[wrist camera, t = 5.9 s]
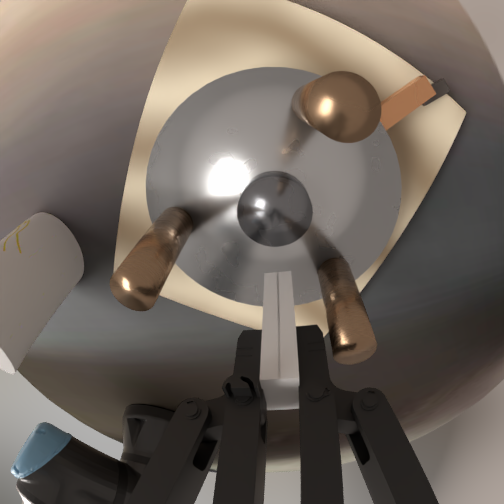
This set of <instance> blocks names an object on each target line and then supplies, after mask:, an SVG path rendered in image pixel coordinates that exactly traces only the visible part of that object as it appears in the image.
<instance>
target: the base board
mask: <svg viewBox="0 0 504 504" xmlns="http://www.w3.org/2000/svg"><path fill="white" fill-rule="evenodd" d="M260 67H287V68H293V69H299V70H305V71H308V72H311V73H314V74H318V75H321V76H324V75H326V74H328V73H331V72H335V71H349V72H353V73H356V74H358V75H360V76H362V77H363V78H365V79H366V80H367V81H369V82H370V83H371V85H372V86H373V87H374V88H375V90H376V91H377V93H378V96H379V98H380V102H382V101H383V100H385V99H386V98H388V97H389V96H390V95H392V94H393V93H395V92H396V91H397V90H399V89H400V88H402V87H403V86H405V85H406V84H408V83H409V82H411V81H412V80H413V79H415V78H416V77H418V76H422V75H423V74H422V73H421V72H419V71H418V70H417V69H415V68H414V67H413V66H411V65H410V64H408V63H407V62H406V61H404V60H403V59H401V58H400V57H398V56H397V55H395V54H394V53H392V52H391V51H389V50H388V49H386V48H385V47H383V46H381V45H380V44H378V43H377V42H375V41H373V40H371V39H370V38H368V37H366V36H365V35H363V34H361V33H359V32H357V31H355V30H354V29H352V28H350V27H348V26H346V25H344V24H342V23H340V22H338V21H336V20H334V19H331V18H329V17H327V16H325V15H323V14H320V13H318V12H316V11H313V10H311V9H308V8H306V7H303V6H301V5H298V4H295V3H293V2H290V1H287V0H188V1H187V3H186V5H185V6H184V8H183V10H182V13H181V15H180V17H179V19H178V21H177V23H176V25H175V27H174V29H173V32H172V34H171V36H170V39H169V41H168V43H167V46H166V48H165V50H164V53H163V55H162V58H161V61H160V63H159V66H158V68H157V71H156V74H155V77H154V79H153V82H152V85H151V88H150V91H149V94H148V97H147V100H146V104H145V107H144V110H143V113H142V117H141V120H140V124H139V127H138V131H137V135H136V139H135V143H134V147H133V151H132V155H131V159H130V164H129V168H128V173H127V178H126V183H125V188H124V194H123V200H122V206H121V212H120V218H119V226H118V233H117V241H116V250H115V260H114V272H115V271H116V270H117V268H118V267H119V266H120V264H121V263H122V262H123V260H124V259H125V258H126V257H127V255H128V254H129V253H130V251H131V250H132V249H133V248H134V246H135V245H136V244H137V242H138V241H139V240H140V239H141V237H142V236H143V235H144V234H145V233H146V231H147V230H148V229H149V228H150V226H151V225H152V222H151V219H150V216H149V212H148V206H147V201H146V174H147V166H148V162H149V158H150V154H151V150H152V148H153V146H154V143H155V141H156V138H157V136H158V134H159V132H160V131H161V129H162V127H163V126H164V124H165V122H166V121H167V119H168V118H169V117H170V116H171V114H172V113H173V112H174V111H175V110H176V108H177V107H178V106H179V105H180V104H181V103H182V102H184V101H185V100H186V99H187V98H188V97H189V96H190V95H191V94H193V93H194V92H196V91H197V90H199V89H200V88H202V87H203V86H205V85H206V84H208V83H210V82H212V81H214V80H216V79H218V78H220V77H223V76H225V75H228V74H231V73H235V72H238V71H241V70H246V69H252V68H260ZM426 78H427V77H426ZM427 79H428V78H427ZM428 81H429V82H430V84H431V86H432V87H433V89H434V91H435V93H436V95H434V96H433V97H431V98H430V99H429V100H427V101H426V102H425V103H423V104H422V105H420V106H419V107H418V108H416V109H415V110H414V111H412V112H411V113H409V114H408V115H407V116H405V117H404V118H403V119H401V120H400V121H399V122H397V123H396V124H394V125H393V126H392V127H390V128H389V129H388V130H386V132H387V134H388V135H389V137H390V139H391V141H392V144H393V147H394V149H395V152H396V154H397V158H398V163H399V167H400V173H401V184H402V190H401V204H400V209H399V214H398V219H397V222H396V225H395V227H394V230H393V233H392V235H391V237H390V239H389V241H388V243H387V245H386V247H385V248H384V250H383V251H382V253H381V254H380V256H379V257H378V258H377V259H376V261H375V262H374V263H373V264H372V265H371V266H370V268H369V269H368V270H367V271H365V272H364V273H363V274H362V275H361V276H360V277H359V278H358V279H356V280H355V281H356V284H357V287H358V290H359V292H361V291H362V289H363V288H364V287H365V285H366V284H367V283H368V281H369V280H370V279H371V277H372V276H373V275H374V273H375V272H376V271H377V269H378V268H379V266H380V265H381V264H382V262H383V261H384V259H385V258H386V256H387V255H388V253H389V252H390V251H391V249H392V248H393V246H394V245H395V243H396V242H397V240H398V239H399V237H400V236H401V234H402V232H403V231H404V229H405V228H406V226H407V225H408V223H409V221H410V220H411V218H412V217H413V215H414V213H415V212H416V210H417V208H418V207H419V205H420V203H421V202H422V200H423V198H424V197H425V195H426V193H427V191H428V190H429V188H430V186H431V184H432V182H433V181H434V179H435V177H436V175H437V173H438V171H439V169H440V168H441V166H442V164H443V162H444V160H445V158H446V156H447V154H448V152H449V150H450V148H451V146H452V144H453V141H454V139H455V137H456V135H457V133H458V131H459V128H460V126H461V124H462V122H463V119H464V117H465V115H466V111H465V110H464V109H462V108H461V107H460V106H459V105H458V104H457V103H456V102H455V101H454V100H453V99H452V98H451V97H450V96H448V95H447V93H448V92H450V90H449V88H448V86H447V84H446V82H445V80H444V79H440V80H438V81H436V82H434V83H433V82H432V81H431V80H430V79H428ZM114 272H113V274H114ZM159 295H161V296H163V297H166V298H168V299H171V300H173V301H176V302H179V303H181V304H184V305H187V306H189V307H192V308H195V309H198V310H201V311H203V312H206V313H209V314H212V315H215V316H218V317H221V318H223V319H226V320H229V321H232V322H235V323H239V324H242V325H245V326H248V327H251V328H254V329H257V330H262V319H263V307H262V306H254V305H248V304H244V303H240V302H236V301H233V300H230V299H227V298H224V297H222V296H220V295H218V294H215V293H213V292H211V291H209V290H208V289H206V288H204V287H203V286H201V285H199V284H198V283H197V282H195V281H194V280H193V279H191V278H190V277H189V276H188V275H186V274H185V273H184V272H183V271H182V270H181V269H180V268H179V267H178V266H177V265H176V264H174V266H173V268H172V270H171V272H170V274H169V276H168V278H167V280H166V282H165V284H164V286H163V288H162V290H161V292H160V294H159ZM294 310H295V323H296V326H306V325H316V324H317V325H318V327H319V328H320V329H321V331H322V332H323V337H324V336H325V335H326V334H327V333H328V332H329V329H328V323H327V318H326V313H325V308H324V303H323V298H322V299H320V300H316V301H313V302H310V303H306V304H301V305H295V306H294Z"/></svg>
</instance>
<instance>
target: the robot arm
mask: <svg viewBox="0 0 504 504" xmlns="http://www.w3.org/2000/svg"><path fill="white" fill-rule="evenodd" d="M222 389H223V391H224V393H225V395H223V396H222V397H219V398H216V399H213V400H209V401H205V402H204V401H203V400H201V399H199V398H189V399H186V400H184V401H183V402H181V404H180V405H179V406H178V408H177V410H176V411H175V412H172V411H169V410H166V409H162V408H158V407H153V406H148V405H130V406H128V407H127V408H126V410H125V413H124V416H123V445H124V449H123V453H122V456H121V460H120V461H119V460H117V459H115V458H112V457H110V456H108V455H106V454H104V453H102V452H100V451H98V450H96V449H94V448H92V447H90V446H88V445H87V444H85V443H83V442H81V441H79V440H78V439H76V438H74V437H73V436H72V435H71V434H69V433H66V432H64V431H62V430H60V429H59V428H57V427H55V426H53V425H52V424H50V423H46V422H43V423H40V424H38V425H37V426H36V428H35V429H34V430H33V432H32V433H31V434H30V436H29V437H28V439H27V441H26V442H25V444H24V445H23V447H22V449H21V450H20V452H19V454H18V456H17V458H16V460H15V461H14V463H13V465H12V467H11V472H12V474H13V475H14V476H15V477H16V478H18V481H17V484H16V488H17V490H18V492H19V494H20V496H21V497H22V499H23V501H22V504H194V503H195V501H196V498H197V496H198V494H199V492H200V490H201V487H202V485H203V483H204V481H205V479H206V476H207V474H208V472H209V470H210V467H211V465H212V463H213V460H214V458H215V456H216V454H217V451H218V449H219V447H220V452H219V459H218V467H217V474H216V483H215V490H214V498H213V504H263V503H264V486H265V468H266V447H267V417H266V412H267V410H284V409H299V417H300V458H301V504H344V499H343V482H342V467H341V455H340V444H339V434H338V433H344V434H346V437H347V439H348V441H349V444H350V446H351V449H352V451H353V453H354V456H355V458H356V461H357V463H358V466H359V468H360V470H361V473H362V475H363V478H364V480H365V483H366V485H367V488H368V490H369V493H370V495H371V497H372V500H373V503H374V504H439V503H438V501H437V499H436V496H435V494H434V492H433V490H432V488H431V485H430V483H429V481H428V480H427V477H426V475H425V473H424V471H423V469H422V467H421V465H420V463H419V460H418V458H417V457H416V455H415V453H414V450H413V448H412V446H411V444H410V443H409V441H408V439H407V437H406V435H405V433H404V431H403V429H402V427H401V425H400V423H399V421H398V419H397V418H396V416H395V414H394V412H393V410H392V408H391V406H390V405H389V403H388V401H387V399H386V397H385V395H384V394H383V393H382V392H381V391H380V390H378V389H376V388H365V389H362V390H360V391H359V392H350V391H344V390H341V389H339V388H337V387H336V386H334V385H333V383H332V382H331V380H330V377H329V370H328V363H327V356H326V351H325V343H324V337H323V332H322V331H321V329H320V328H319V327H318V325H317V324H316V325H306V326H296V323H295V310H294V298H293V287H292V276H291V271H285V272H273V273H264V296H263V319H262V330H243V332H242V333H241V335H240V336H239V338H238V342H237V350H236V358H235V366H234V374H233V375H232V376H230V377H228V378H227V379H226V381H225V382H224V383H223V386H222Z"/></svg>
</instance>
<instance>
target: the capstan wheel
mask: <svg viewBox="0 0 504 504" xmlns="http://www.w3.org/2000/svg"><path fill="white" fill-rule="evenodd" d="M434 95H436V93H435V91H434V89H433V87H432V86H431V84H430V82H429V81H428V79H427V78H426V76H425V75H422V76H418V77H416V78H415V79H413V80H412V81H411V82H409V83H408V84H406V85H405V86H403V87H402V88H400V89H399V90H397V91H396V92H395V93H393V94H392V95H390V96H389V97H388V98H386V99H385V100H383V101H382V102H380V98H379V96H378V93H377V91H376V90H375V88H374V87H373V86H372V85H371V83H370V82H369V81H367V80H366V79H365V78H363V77H362V76H360V75H358V74H356V73H353V72H349V71H335V72H331V73H328V74H326V75H324V76H321V75H318V74H314V73H311V72H308V71H305V70H299V69H293V68H287V67H260V68H252V69H246V70H241V71H238V72H235V73H231V74H228V75H225V76H223V77H220V78H218V79H216V80H214V81H212V82H210V83H208V84H206V85H205V86H203V87H202V88H200V89H199V90H197V91H196V92H194V93H193V94H191V95H190V96H189V97H188V98H187V99H186V100H185V101H184V102H182V103H181V104H180V105H179V106H178V107H177V108H176V110H175V111H174V112H173V113H172V114H171V116H170V117H169V118H168V119H167V121H166V122H165V124H164V126H163V127H162V129H161V131H160V132H159V134H158V136H157V138H156V141H155V143H154V146H153V148H152V150H151V154H150V158H149V162H148V166H147V174H146V201H147V206H148V212H149V216H150V219H151V222H152V225H151V226H150V228H149V229H148V230H147V231H146V233H145V234H144V235H143V236H142V237H141V239H140V240H139V241H138V242H137V244H136V245H135V246H134V248H133V249H132V250H131V251H130V253H129V254H128V255H127V257H126V258H125V259H124V260H123V262H122V263H121V264H120V266H119V267H118V268H117V270H116V271H115V272H114V274H113V275H112V277H111V279H110V288H111V291H112V293H113V295H114V296H115V298H116V299H117V300H118V301H119V302H120V303H121V304H123V305H124V306H126V307H127V308H130V309H132V310H136V311H146V310H149V309H151V308H152V307H153V306H154V304H155V302H156V300H157V298H158V296H159V294H160V292H161V290H162V288H163V286H164V284H165V282H166V280H167V278H168V276H169V274H170V272H171V270H172V268H173V266H174V264H176V265H177V266H178V267H179V268H180V269H181V270H182V271H183V272H184V273H185V274H186V275H188V276H189V277H190V278H191V279H193V280H194V281H195V282H197V283H198V284H199V285H201V286H203V287H204V288H206V289H208V290H209V291H211V292H213V293H215V294H218V295H220V296H222V297H224V298H227V299H230V300H233V301H236V302H240V303H244V304H248V305H254V306H262V307H263V296H264V273H273V272H285V271H291V276H292V287H293V298H294V306H295V305H301V304H306V303H310V302H313V301H316V300H320V299H322V298H323V303H324V308H325V313H326V318H327V323H328V329H329V334H330V340H331V346H332V352H333V357H334V359H335V360H336V361H337V362H338V363H341V364H356V363H359V362H362V361H364V360H366V359H368V358H369V357H370V356H372V355H373V354H374V352H375V351H376V348H377V343H376V339H375V336H374V333H373V330H372V327H371V324H370V321H369V318H368V315H367V312H366V309H365V306H364V303H363V301H362V298H361V295H360V292H359V290H358V287H357V284H356V281H355V280H356V279H358V278H359V277H360V276H361V275H362V274H363V273H364V272H365V271H367V270H368V269H369V268H370V266H371V265H372V264H373V263H374V262H375V261H376V259H377V258H378V257H379V256H380V254H381V253H382V251H383V250H384V248H385V247H386V245H387V243H388V241H389V239H390V237H391V235H392V233H393V230H394V227H395V225H396V222H397V219H398V214H399V209H400V204H401V190H402V184H401V173H400V167H399V163H398V158H397V154H396V152H395V149H394V147H393V144H392V141H391V139H390V137H389V135H388V134H387V132H386V130H388V129H389V128H390V127H392V126H393V125H394V124H396V123H397V122H399V121H400V120H401V119H403V118H404V117H405V116H407V115H408V114H409V113H411V112H412V111H414V110H415V109H416V108H418V107H419V106H420V105H422V104H423V103H425V102H426V101H427V100H429V99H430V98H431V97H433V96H434Z"/></svg>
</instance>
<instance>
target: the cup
mask: <svg viewBox="0 0 504 504" xmlns="http://www.w3.org/2000/svg"><path fill="white" fill-rule="evenodd" d="M83 272H84V260H83V255H82V252H81V249H80V247H79V244H78V242H77V240H76V239H75V237H74V235H73V234H72V232H71V231H70V230H69V229H68V227H67V226H66V225H65V224H64V223H63V222H62V221H61V220H59V219H58V218H56V217H55V216H53V215H51V214H49V213H44V212H40V213H36V214H34V215H33V216H32V217H30V218H29V219H27V220H26V221H25V222H23V223H22V224H21V225H20V226H18V227H17V228H16V229H14V230H13V231H12V232H11V233H9V234H8V235H7V236H6V237H5V238H3V239H2V240H1V241H0V368H1V369H2V370H4V371H6V372H7V373H10V374H15V372H16V370H17V369H18V367H19V365H20V364H21V362H22V360H23V359H24V357H25V355H26V354H27V352H28V351H29V349H30V348H31V346H32V345H33V343H34V342H35V340H36V339H37V337H38V336H39V334H40V333H41V331H42V330H43V328H44V327H45V325H46V324H47V323H48V321H49V320H50V318H51V317H52V316H53V314H54V313H55V311H56V310H57V309H58V307H59V306H60V305H61V303H62V302H63V301H64V299H65V298H66V297H67V296H68V294H69V293H70V292H71V290H72V289H73V288H74V287H75V285H76V284H77V283H78V282H79V280H80V279H81V278H82V276H83Z"/></svg>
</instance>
